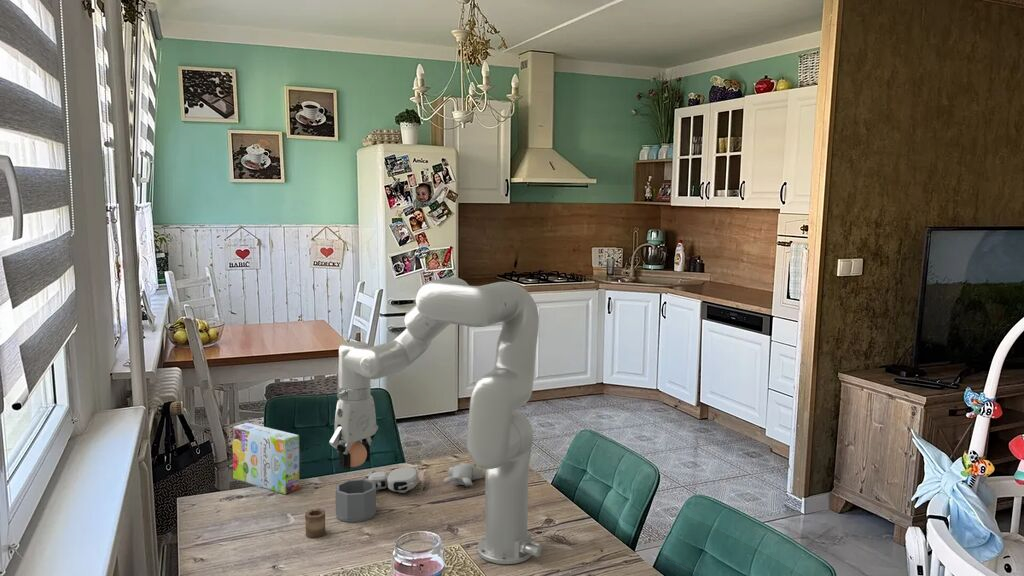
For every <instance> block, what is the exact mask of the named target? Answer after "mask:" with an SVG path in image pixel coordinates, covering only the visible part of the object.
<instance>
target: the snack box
mask: <svg viewBox="0 0 1024 576" xmlns="http://www.w3.org/2000/svg"><path fill="white" fill-rule="evenodd" d="M231 428H232V429H231V430H232V432H231V433H232V436H231V437H232V474H233V475H232V477H233V478H232V479H234V480H238V481H240V482H244V483H248V484H251V485H253V486H257V487H260V488H263V489H266V490H271V491H272V492H276V493H280V494H282V495H287V494H289V493H292V492H295V491H297V490H300V435H299V434H295V433H291V432H287V431H284V430H279V429H275V428H271V427H267V426H263V425H259V424H254V423H250V422H245V423H240V424H238V425H235V426H232V427H231Z"/></svg>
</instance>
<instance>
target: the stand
mask: <svg viewBox="0 0 1024 576" xmlns="http://www.w3.org/2000/svg"><path fill="white" fill-rule="evenodd" d="M304 514H305V515H304V520H305V536H306V537H307V538H310V539H318V538H321V537H323V536H325V534H326V510H324V509H321V508H314V509H309V510H308V511H306V512H305V513H304Z"/></svg>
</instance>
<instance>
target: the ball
mask: <svg viewBox="0 0 1024 576" xmlns="http://www.w3.org/2000/svg"><path fill="white" fill-rule="evenodd" d="M348 453H349V454H350V468H357V467H360V466H362V465H363V464H364V462H366V461H365V460H366V457H367V450H366V448H365V446H364V445H363V444H361V442H360V441H357V442H354V443H351V444H350V448H349V452H348Z"/></svg>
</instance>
